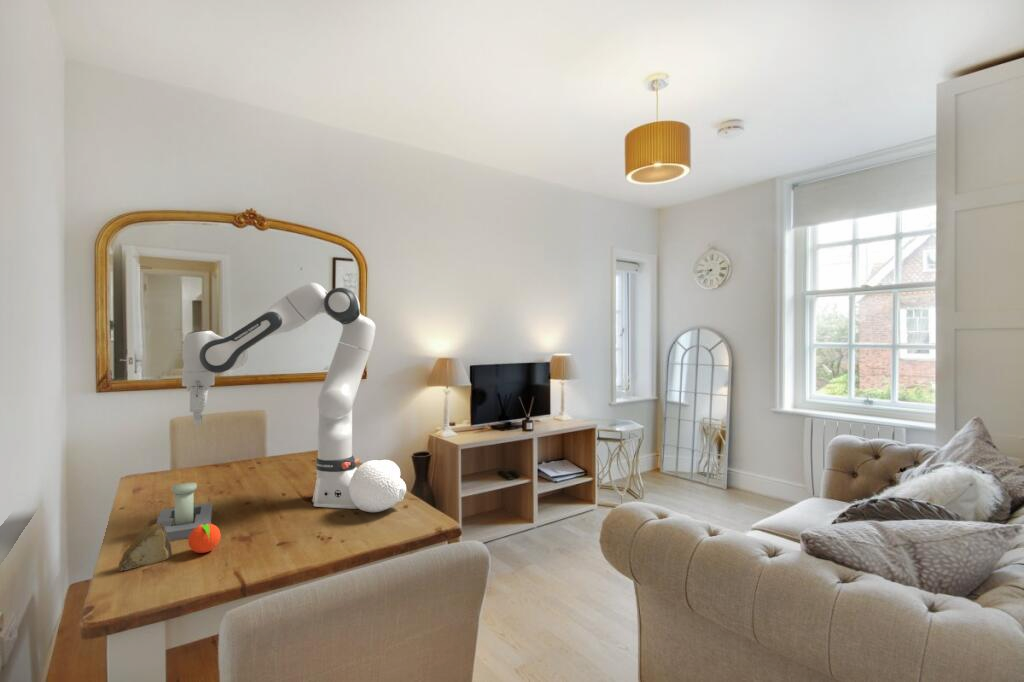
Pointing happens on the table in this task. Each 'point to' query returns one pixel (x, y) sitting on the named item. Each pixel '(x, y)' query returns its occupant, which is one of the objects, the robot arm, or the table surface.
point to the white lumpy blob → (376, 486)
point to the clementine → (204, 538)
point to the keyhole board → (184, 531)
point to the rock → (147, 548)
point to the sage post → (184, 502)
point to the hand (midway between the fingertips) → (198, 422)
